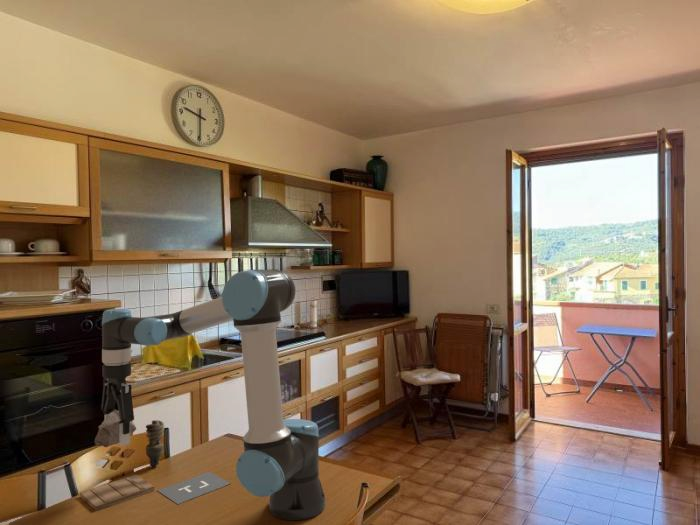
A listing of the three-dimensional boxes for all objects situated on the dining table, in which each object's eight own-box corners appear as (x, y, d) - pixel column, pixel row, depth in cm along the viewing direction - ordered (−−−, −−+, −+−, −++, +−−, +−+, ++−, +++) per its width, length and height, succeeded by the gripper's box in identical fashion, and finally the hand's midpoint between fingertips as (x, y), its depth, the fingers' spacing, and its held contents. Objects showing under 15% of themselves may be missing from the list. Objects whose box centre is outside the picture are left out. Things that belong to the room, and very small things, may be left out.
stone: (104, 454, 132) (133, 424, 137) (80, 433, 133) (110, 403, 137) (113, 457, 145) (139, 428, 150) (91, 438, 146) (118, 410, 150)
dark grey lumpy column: (157, 461, 164) (156, 417, 164) (168, 465, 161) (167, 419, 161) (142, 468, 159) (142, 421, 159) (153, 471, 156) (153, 424, 156)
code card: (230, 483, 147) (230, 483, 147) (177, 504, 135) (177, 504, 135) (209, 472, 156) (209, 471, 156) (157, 490, 143) (157, 490, 143)
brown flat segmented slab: (154, 490, 143) (154, 485, 143) (96, 511, 132) (96, 505, 132) (136, 478, 152) (136, 473, 152) (80, 496, 140) (80, 491, 140)
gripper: (147, 366, 137) (147, 446, 137) (114, 356, 152) (114, 428, 152) (119, 370, 131) (119, 454, 131) (88, 359, 146) (88, 434, 147)
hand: (117, 440), depth 142 cm, fingers closed on stone, 10 cm apart
